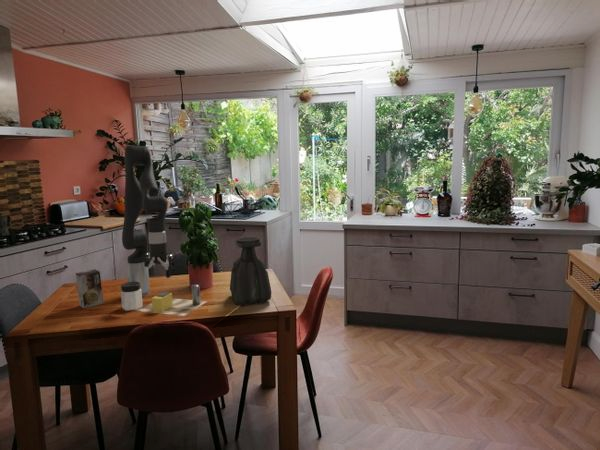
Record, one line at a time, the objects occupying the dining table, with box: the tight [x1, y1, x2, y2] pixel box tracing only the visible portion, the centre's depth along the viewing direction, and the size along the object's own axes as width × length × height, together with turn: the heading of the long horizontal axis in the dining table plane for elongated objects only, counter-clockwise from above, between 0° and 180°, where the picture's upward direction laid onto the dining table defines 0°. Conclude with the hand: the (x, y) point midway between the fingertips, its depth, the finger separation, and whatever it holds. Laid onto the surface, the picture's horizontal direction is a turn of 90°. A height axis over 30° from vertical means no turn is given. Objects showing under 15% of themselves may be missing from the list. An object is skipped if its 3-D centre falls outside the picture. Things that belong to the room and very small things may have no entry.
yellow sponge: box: [151, 291, 173, 312], centre depth 194 cm, size 5×8×6 cm, turn 162°
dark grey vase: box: [229, 236, 272, 307], centre depth 203 cm, size 18×16×30 cm
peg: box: [190, 284, 201, 306], centre depth 198 cm, size 4×4×9 cm
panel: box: [136, 297, 207, 317], centre depth 197 cm, size 25×19×1 cm
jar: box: [120, 281, 144, 311], centre depth 196 cm, size 9×8×12 cm
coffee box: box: [75, 268, 104, 309], centre depth 204 cm, size 9×6×16 cm
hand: (160, 276), depth 192 cm, fingers open, 8 cm apart
